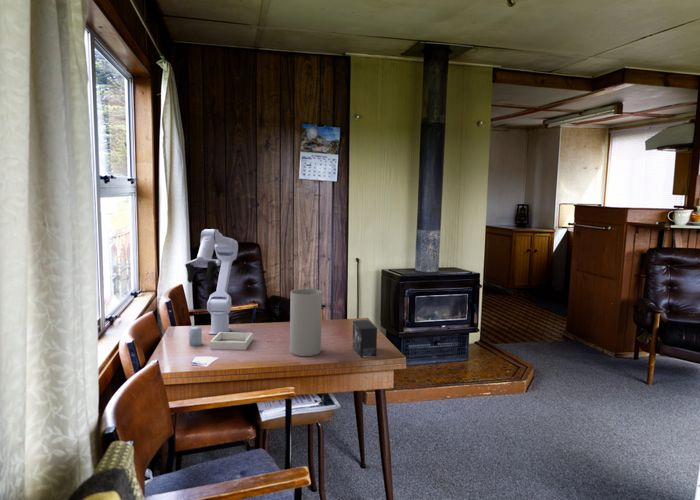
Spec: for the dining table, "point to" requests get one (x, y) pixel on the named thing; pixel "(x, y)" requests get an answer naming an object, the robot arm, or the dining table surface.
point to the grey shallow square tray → (218, 344)
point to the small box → (365, 338)
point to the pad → (233, 341)
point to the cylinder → (195, 336)
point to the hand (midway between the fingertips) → (198, 280)
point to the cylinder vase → (305, 322)
